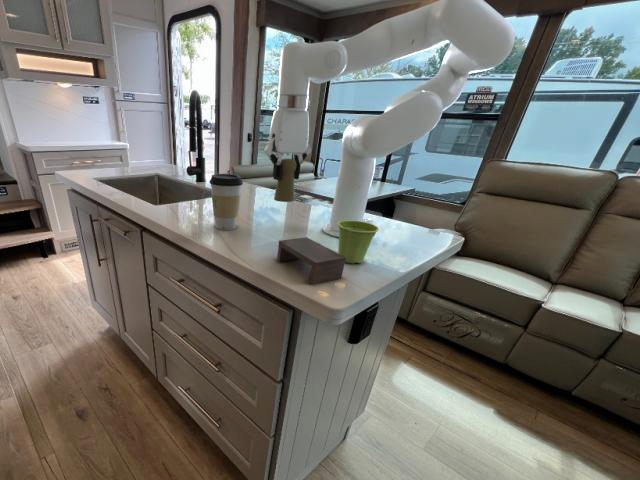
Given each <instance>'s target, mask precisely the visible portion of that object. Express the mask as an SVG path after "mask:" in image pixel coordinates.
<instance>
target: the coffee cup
mask: <svg viewBox="0 0 640 480" xmlns="http://www.w3.org/2000/svg"><path fill="white" fill-rule="evenodd" d="M209 184H210V190H211V192H210V193H211V194H210V195H211V201H212V202H211V203H212V213H213V217H214V224H215V225H214V226H215V229H218V230H223V231H231V230H234V229H236V225H237V218H238V213H239V208H240V200H241V195H242V194H241V192H242V191H241V190H242V185H243V184H244V182H243V180H242V176H241V175H239V174H232V173H215V174H212V175H211V177H210V179H209Z"/></svg>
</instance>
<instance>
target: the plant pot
mask: <svg viewBox="0 0 640 480" xmlns="http://www.w3.org/2000/svg"><path fill="white" fill-rule="evenodd" d="M338 226H339V237H338V247H337V248H338V249H337V253H338V254H340V255H342V256H344V257H346V260H345V263H348V264H355V263H357V264H361V263H363V261H364V259H365V257H366V255H367V253H368V251H369V248H370V246H371V243H372V240H373V238H374V237H375V235H376V233H377V232H379V231H380V227H379V226H377V225H375V224H374V223H372V224H370V223H366V222H361V221H352V220H345V221H340V222H338Z"/></svg>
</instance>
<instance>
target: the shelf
mask: <svg viewBox="0 0 640 480" xmlns="http://www.w3.org/2000/svg"><path fill="white" fill-rule="evenodd" d="M276 256H277V257H276V261H277V262H279V263H281V262H288V261H294V260H295V261H296V260H301V261H303V262H304V263H305V264H308V265H309V266H310V273H309V279H308V283H309V284H310V285H318V284H323V283H326V282H332V281H337V280H341V279H342V277H343V273H344V268H345V264H346V262H345V260H346V257H344V256H342V255H340V254H338V252H336V251H334V250H332V249H330V248H328V247H326V246H325V245H322V244H320V243H319V242H317V241H316V240H313V239H311V238H309V237H307V236H304V237H297V238H289V239H282V240H278V246H277V255H276Z"/></svg>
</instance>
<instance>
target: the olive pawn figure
mask: <svg viewBox="0 0 640 480" xmlns="http://www.w3.org/2000/svg"><path fill="white" fill-rule="evenodd" d="M280 165H282V176H281V180H280V181H278V180H276V181H277V182H276V187H275V192H274V196H273V200H274V201H276V202H281V203H291V202H292V203H293V202H295V200H296V198H295V179H294V171H295V170H296V166H297V165H296V161H295V160H294V159H293V158H282V161H281V164H280Z"/></svg>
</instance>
